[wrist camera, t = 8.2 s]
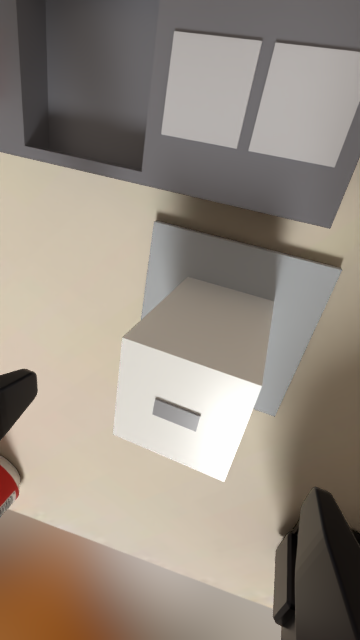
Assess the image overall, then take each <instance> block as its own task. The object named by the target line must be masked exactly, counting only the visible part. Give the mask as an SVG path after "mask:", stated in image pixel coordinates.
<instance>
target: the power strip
mask: <svg viewBox="0 0 360 640" xmlns="http://www.w3.org/2000/svg"><path fill="white" fill-rule="evenodd" d="M0 152H3V153H7V154H11V155H16V156H20V157H24V158H29V159H33V160H37V161H42V162H46V163H50V164H54V165H59V166H63V167H67V168H72V169H76V170H80V171H85V172H89V173H93V174H97V175H102V176H106V177H110V178H115V179H119V180H123V181H128V182H132V183H136V184H140V185H145V186H149V187H153V188H158V189H162V190H166V191H171V192H175V193H179V194H183V195H188V196H192V197H196V198H201V199H205V200H209V201H214V202H218V203H222V204H226V205H231V206H235V207H239V208H244V209H248V210H252V211H257V212H261V213H265V214H269V215H274V216H278V217H282V218H287V219H291V220H295V221H300V222H304V223H308V224H312V225H317V226H321V227H325V228H331V226H332V223H333V221H334V218H335V216H336V213H337V211H338V209H339V206H340V204H341V201H342V199H343V196H344V194H345V192H346V189H347V187H348V184H349V182H350V179H351V177H352V175H353V172H354V170H355V167H356V165H357V162H358V160H359V157H360V0H0Z"/></svg>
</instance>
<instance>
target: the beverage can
mask: <svg viewBox="0 0 360 640" xmlns="http://www.w3.org/2000/svg"><path fill="white" fill-rule="evenodd" d="M19 484H20V476H19V473H18V471H17V470H16V468H15V467H14V466H13V465H12V464H11V463H10V462H9V461H8V460H7V459H5V458H4V457H2V456H0V517H1V516H2V515H3V513H5V511H6V510H7V509H8V508H9V507H10V506H11V504H12V503H13V502H14V501H15V500H16V499H17V497H18V495H19Z"/></svg>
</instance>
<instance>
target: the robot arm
mask: <svg viewBox="0 0 360 640" xmlns="http://www.w3.org/2000/svg"><path fill="white" fill-rule="evenodd" d="M37 391H38V389H37V376H36V373H35V372H33V371H30V370H28V369H20V370H17V371H13V372H10V373H7V374H3V375H0V440H1V439H2V438H3V437H4V436H5V435H6V433H7V432H8V431H9V430H10V429H11V427H12V426H13V425H14V424H15V422H16V421H17V420H18V419H19V417H20V416H21V415H22V414H23V412H24V411H25V410H26V409H27V407H28V406H29V405H30V403H31V402H32V401H33V400H34V398H35V397H36V395H37ZM273 618H274V620H275V622H276V623H277V624H278V625H280V626H282V630H281V640H360V534H358V533H355V532H353V531H351V529H350V527H349V525H348V524H347V522H346V520H345V518H344V516H343V514H342V513H341V511H340V509H339V507H338V505H337V503H336V501H335V500H334V498H333V496H332V495H331V493H330V492H328V491H326V490H323V489H321V488H318V487H314V488H312V490H311V491H310V493H309V494H308V496H307V497H306V499H305V500H304V502H303V504H302V507H301V511H300V520H299V522H298V523H297V525H296V526H295V528H294V529H293V531H292V532H290V533H288V534H287V535H286V536H285V538H284V539H283V541H282V542H281V544H280V546H279V547H278V549H277V550H276V557H275V582H274V605H273Z"/></svg>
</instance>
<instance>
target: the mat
mask: <svg viewBox="0 0 360 640" xmlns="http://www.w3.org/2000/svg"><path fill="white" fill-rule="evenodd" d="M341 271H342V269H341V268H339V267H335V266H332V265H328V264H324V263H320V262H316V261H312V260H308V259H304V258H300V257H297V256H293V255H289V254H285V253H281V252H277V251H273V250H269V249H265V248H261V247H258V246H254V245H250V244H246V243H242V242H238V241H234V240H230V239H226V238H223V237H219V236H215V235H211V234H207V233H203V232H199V231H195V230H191V229H188V228H184V227H180V226H176V225H172V224H168V223H164V222H160V221H155V222H154V227H153V234H152V242H151V249H150V257H149V264H148V271H147V279H146V286H145V294H144V301H143V309H142V316H141V320H142V319H143V318H144V317H145V316H146V315H147V314H148V313H149V312H150V311H151V310H152V309H154V308H155V307H156V306H157V305H158V304H159V303H160V302H161V301H162V300H163V299H164V298H165V297H167V296H168V295H169V294H170V293H171V292H172V291H173V290H174V289H175V288H176V287H177V286H178V285H179V284H181V283H182V282H183V281H184V280H185V279H186V278H187V277H191V278H194V279H198V280H201V281H205V282H208V283H212V284H215V285H219V286H222V287H226V288H229V289H233V290H236V291H240V292H243V293H247V294H250V295H254V296H257V297H261V298H264V299H268V300H271V301H274V307H273V314H272V321H271V328H270V334H269V341H268V348H267V355H266V362H265V369H264V376H263V383H262V388H261V390H260V393H259V395H258V398H257V400H256V403H255V405H254V408H253V409H255V410H258V411H261V412H263V413H266V414H269V415H271V416H274V417H275V415H276V413H277V411H278V409H279V406H280V404H281V402H282V400H283V398H284V396H285V393H286V391H287V389H288V387H289V385H290V382H291V380H292V378H293V376H294V374H295V372H296V369H297V367H298V365H299V363H300V361H301V359H302V356H303V354H304V352H305V350H306V348H307V345H308V343H309V341H310V339H311V337H312V335H313V332H314V330H315V328H316V326H317V324H318V322H319V319H320V317H321V315H322V313H323V311H324V308H325V306H326V304H327V302H328V300H329V298H330V295H331V293H332V291H333V289H334V287H335V285H336V282H337V280H338V278H339V276H340V274H341Z"/></svg>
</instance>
